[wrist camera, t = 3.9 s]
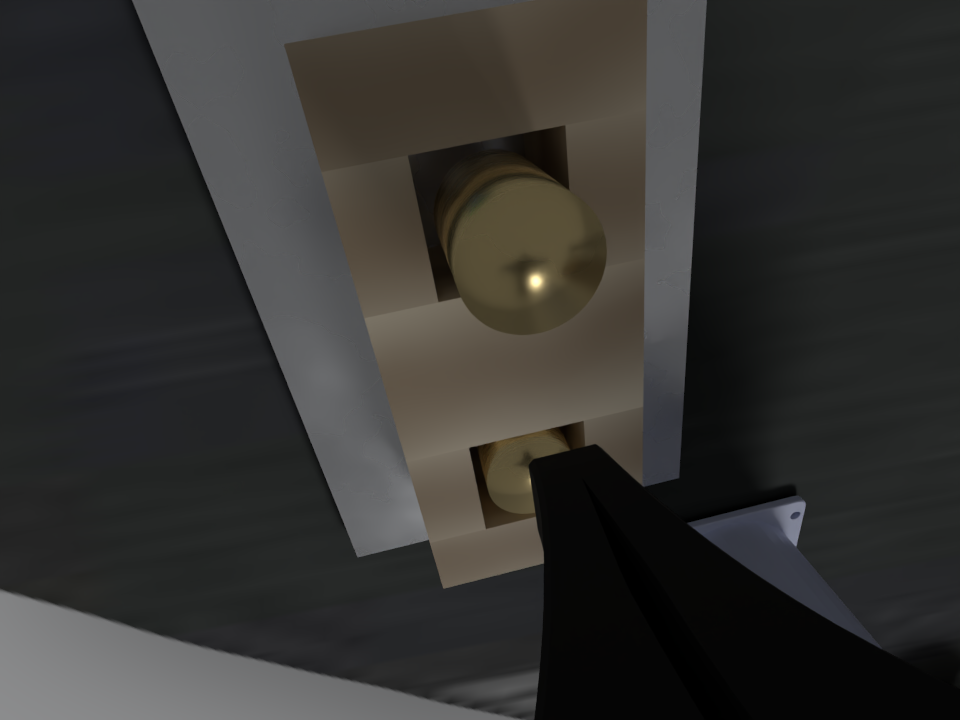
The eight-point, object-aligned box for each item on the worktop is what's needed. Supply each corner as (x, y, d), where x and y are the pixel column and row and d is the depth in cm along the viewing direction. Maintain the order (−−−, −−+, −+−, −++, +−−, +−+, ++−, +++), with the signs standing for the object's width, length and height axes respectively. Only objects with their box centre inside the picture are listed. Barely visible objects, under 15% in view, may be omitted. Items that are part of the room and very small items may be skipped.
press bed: (668, 462, 24) (679, 478, 24) (357, 538, 23) (357, 557, 22) (693, -118, 14) (714, -128, 13) (135, -28, 13) (118, -33, 12)
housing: (599, 462, 22) (641, 538, 19) (431, 502, 22) (443, 588, 18) (578, -5, 14) (647, -20, 11) (305, 43, 13) (283, 44, 10)
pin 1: (554, 256, 14) (608, 317, 11) (445, 279, 13) (468, 348, 10) (544, 138, 12) (604, 170, 9) (422, 162, 12) (441, 203, 9)
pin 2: (548, 432, 20) (580, 501, 17) (475, 449, 20) (494, 522, 17) (541, 369, 19) (575, 432, 16) (462, 387, 19) (481, 455, 16)
